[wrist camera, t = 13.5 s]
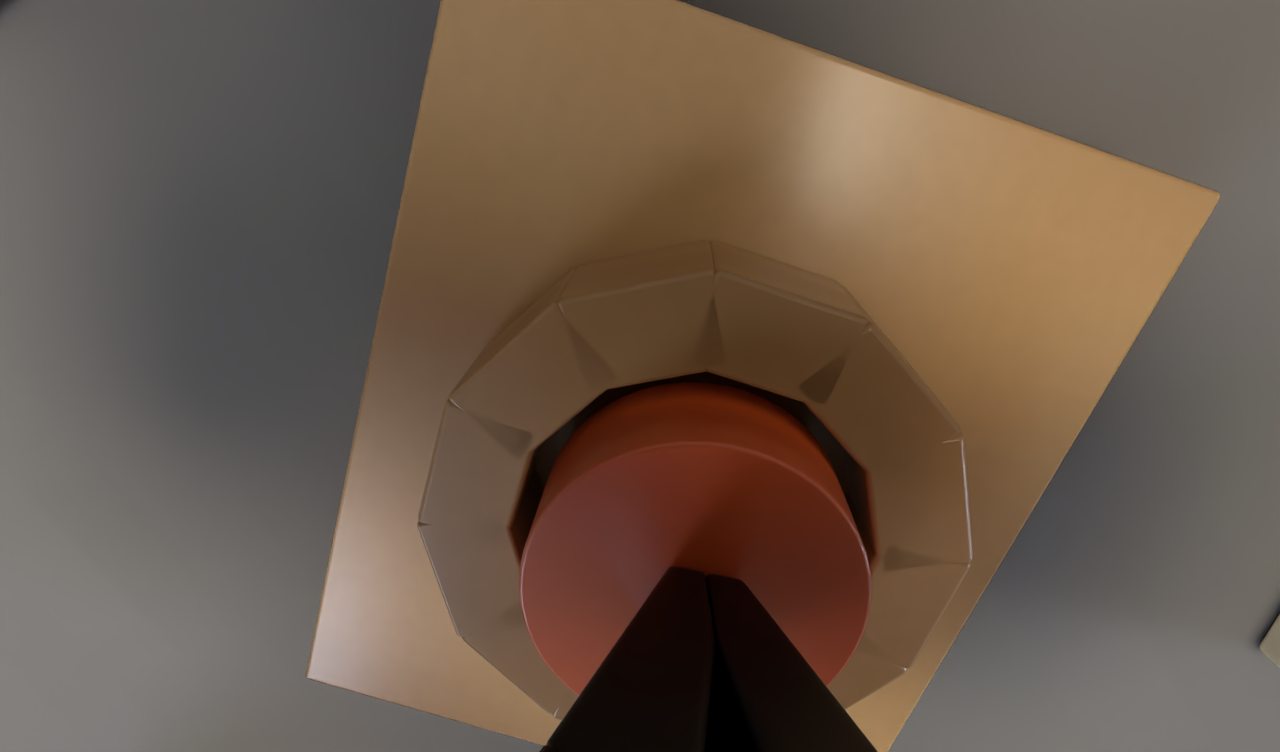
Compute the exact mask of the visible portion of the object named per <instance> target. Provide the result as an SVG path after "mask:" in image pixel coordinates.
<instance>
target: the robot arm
mask: <svg viewBox="0 0 1280 752" xmlns="http://www.w3.org/2000/svg"><path fill="white" fill-rule="evenodd" d="M540 752H878V751H877V750H876V749H875V747H874V746H873V745H872V744H871V742H870V741H869V740H868V738H867V737H866V736H865V735H864V733H863V732H862V731H861V730H860V728H859V727H858V726H857V725H856V723H855V722H854V721H853V719H852V718H851V717H850V716H849V714H848V713H847V712H846V711H845V709H844V708H843V707H842V705H841V704H840V703H839V702H838V700H837V699H836V698H835V697H834V695H833V694H832V693H831V692H830V690H829V689H828V688H827V686H826V685H825V684H824V683H823V681H822V680H821V679H820V678H819V676H818V675H817V674H816V672H815V671H814V670H813V669H812V667H811V666H810V665H809V664H808V662H807V661H806V660H805V659H804V657H803V656H802V655H801V653H800V652H799V651H798V650H797V648H796V647H795V646H794V645H793V643H792V642H791V641H790V640H789V638H788V637H787V636H786V634H785V633H784V632H783V631H782V629H781V628H780V627H779V626H778V624H777V623H776V622H775V620H774V619H773V618H772V617H771V615H770V614H769V613H768V612H767V610H766V609H765V608H764V607H763V605H762V604H761V603H760V601H759V600H758V599H757V598H756V596H755V595H754V594H753V593H752V591H751V590H750V589H749V587H748V586H747V585H746V584H745V583H744V582H743V581H742V580H740V579H737V578H732V577H727V576H722V575H716V574H709V575H707V576H706V577H705V575H704V574H703V573H702V572H700V571H696V570H691V569H686V568H681V567H676V566H671V567H669V568H668V569H667V570H666V572H665V573H664V575H663V576H662V578H661V579H660V580H659V582H658V583H657V585H656V586H655V588H654V589H653V590H652V592H651V593H650V595H649V596H648V598H647V599H646V600H645V602H644V603H643V605H642V606H641V608H640V609H639V611H638V612H637V613H636V615H635V616H634V618H633V619H632V621H631V622H630V623H629V625H628V626H627V628H626V629H625V631H624V632H623V633H622V635H621V636H620V638H619V639H618V641H617V642H616V643H615V645H614V646H613V648H612V649H611V651H610V652H609V654H608V655H607V656H606V658H605V659H604V661H603V662H602V664H601V665H600V666H599V668H598V669H597V671H596V672H595V674H594V675H593V676H592V678H591V679H590V681H589V682H588V684H587V685H586V686H585V688H584V689H583V691H582V692H581V694H580V695H579V697H578V698H577V699H576V701H575V702H574V704H573V705H572V707H571V708H570V709H569V711H568V712H567V714H566V715H565V717H564V718H563V719H562V721H561V722H560V724H559V725H558V727H557V728H556V730H555V731H554V732H553V734H552V735H551V737H550V738H549V740H548V741H547V744H546V745H545V746H544V747H542V749H541V750H540Z"/></svg>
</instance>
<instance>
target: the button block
mask: <svg viewBox="0 0 1280 752" xmlns="http://www.w3.org/2000/svg"><path fill="white" fill-rule="evenodd" d="M1219 199H1220V194H1219V193H1218V192H1217V191H1215V190H1212V189H1209V188H1206V187H1204V186H1201V185H1198V184H1195V183H1192V182H1189V181H1187V180H1184V179H1181V178H1178V177H1175V176H1173V175H1170V174H1167V173H1164V172H1161V171H1158V170H1156V169H1153V168H1150V167H1147V166H1144V165H1141V164H1139V163H1136V162H1133V161H1130V160H1127V159H1125V158H1122V157H1119V156H1116V155H1113V154H1110V153H1108V152H1105V151H1102V150H1099V149H1096V148H1093V147H1091V146H1088V145H1085V144H1082V143H1079V142H1077V141H1074V140H1071V139H1068V138H1065V137H1062V136H1060V135H1057V134H1054V133H1051V132H1048V131H1045V130H1043V129H1040V128H1037V127H1034V126H1031V125H1029V124H1026V123H1023V122H1020V121H1017V120H1014V119H1012V118H1009V117H1006V116H1003V115H1000V114H997V113H995V112H992V111H989V110H986V109H983V108H981V107H978V106H975V105H972V104H969V103H966V102H964V101H961V100H958V99H955V98H952V97H949V96H947V95H944V94H941V93H938V92H935V91H933V90H930V89H927V88H924V87H921V86H918V85H916V84H913V83H910V82H907V81H904V80H901V79H899V78H896V77H893V76H890V75H887V74H885V73H882V72H879V71H876V70H873V69H870V68H868V67H865V66H862V65H859V64H856V63H854V62H851V61H848V60H845V59H842V58H839V57H837V56H834V55H831V54H828V53H825V52H822V51H820V50H817V49H814V48H811V47H808V46H806V45H803V44H800V43H797V42H794V41H791V40H789V39H786V38H783V37H780V36H777V35H774V34H772V33H769V32H766V31H763V30H760V29H758V28H755V27H752V26H749V25H746V24H743V23H741V22H738V21H735V20H732V19H729V18H726V17H724V16H721V15H718V14H715V13H712V12H710V11H707V10H704V9H701V8H698V7H695V6H693V5H690V4H687V3H684V2H681V1H678V0H441V2H440V7H439V12H438V17H437V22H436V27H435V32H434V37H433V42H432V47H431V52H430V57H429V62H428V67H427V72H426V77H425V82H424V87H423V92H422V97H421V102H420V107H419V112H418V117H417V122H416V127H415V132H414V137H413V142H412V147H411V152H410V157H409V162H408V167H407V172H406V177H405V182H404V187H403V192H402V197H401V202H400V207H399V212H398V217H397V222H396V227H395V232H394V237H393V242H392V247H391V252H390V257H389V262H388V267H387V272H386V277H385V282H384V287H383V292H382V297H381V302H380V307H379V312H378V317H377V322H376V327H375V332H374V337H373V342H372V347H371V352H370V357H369V362H368V367H367V372H366V377H365V382H364V387H363V392H362V397H361V402H360V407H359V412H358V417H357V422H356V427H355V432H354V437H353V442H352V447H351V452H350V457H349V462H348V467H347V472H346V477H345V482H344V487H343V492H342V497H341V502H340V507H339V512H338V517H337V522H336V527H335V532H334V537H333V542H332V547H331V552H330V557H329V562H328V567H327V572H326V577H325V582H324V587H323V592H322V597H321V602H320V607H319V612H318V617H317V622H316V627H315V632H314V637H313V642H312V647H311V652H310V657H309V662H308V667H307V672H306V677H307V678H308V679H311V680H314V681H318V682H321V683H325V684H329V685H332V686H336V687H339V688H343V689H346V690H350V691H353V692H357V693H360V694H364V695H367V696H371V697H374V698H378V699H381V700H385V701H388V702H392V703H395V704H399V705H402V706H406V707H409V708H413V709H417V710H420V711H424V712H427V713H431V714H434V715H438V716H441V717H445V718H448V719H452V720H455V721H459V722H462V723H466V724H469V725H473V726H476V727H480V728H483V729H487V730H490V731H494V732H497V733H501V734H504V735H508V736H512V737H515V738H519V739H522V740H526V741H529V742H533V743H536V744H540V745H543V746H545V745H546V744H547V741H548V740H549V738H550V737H551V735H552V734H553V732H554V731H555V730H556V728H557V727H558V725H559V724H560V722H561V721H562V719H563V718H564V717H565V715H566V714H567V712H568V711H569V709H570V708H571V707H572V705H573V704H574V702H575V701H576V699H577V698H578V697H579V696H578V695H577V694H575V693H574V692H573V691H572V690H570V689H569V688H568V687H567V686H566V685H565V684H564V683H563V682H562V681H561V680H560V679H559V678H558V677H557V676H556V675H555V674H554V673H553V672H552V671H551V669H550V668H549V667H548V666H547V664H546V663H545V662H544V660H543V659H542V658H541V656H540V654H539V652H538V651H537V649H536V647H535V646H534V644H533V642H532V640H531V637H530V635H529V632H528V630H527V627H526V625H525V622H524V618H523V614H522V610H521V606H520V597H519V571H520V564H521V559H522V555H523V551H524V547H525V544H526V541H527V538H528V535H529V532H530V529H531V526H532V523H533V520H534V517H535V514H536V511H537V508H538V506H539V503H540V500H541V497H542V494H543V491H544V488H545V485H546V482H547V479H548V476H549V474H550V471H551V469H552V466H553V464H554V461H555V459H556V458H557V456H558V454H559V453H560V451H561V449H562V447H563V446H564V444H565V443H566V442H567V441H568V439H569V438H570V437H571V436H572V434H573V433H574V432H575V431H576V430H577V429H578V428H579V427H580V426H581V425H582V424H583V423H584V422H585V421H586V420H587V419H588V418H589V417H591V416H592V415H594V414H595V413H596V412H598V411H599V410H601V409H602V408H603V407H605V406H607V405H608V404H610V403H612V402H614V401H616V400H618V399H620V398H622V397H624V396H626V395H629V394H632V393H634V392H637V391H640V390H643V389H647V388H651V387H655V386H659V385H665V384H674V383H710V384H718V385H725V386H729V387H733V388H737V389H741V390H745V391H747V392H750V393H752V394H755V395H757V396H760V397H762V398H765V399H766V400H768V401H770V402H772V403H774V404H776V405H777V406H779V407H781V408H782V409H784V410H785V411H787V412H788V413H789V414H791V415H792V416H793V417H795V418H796V419H797V420H798V421H799V422H801V423H802V424H803V425H804V426H805V427H806V428H807V429H808V430H809V431H810V432H811V433H812V434H813V436H814V437H815V438H816V440H817V441H818V442H819V443H820V445H821V446H822V447H823V449H824V451H825V453H826V454H827V456H828V458H829V460H830V461H831V463H832V465H833V468H834V471H835V473H836V476H837V478H838V481H839V483H840V486H841V488H842V491H843V493H844V496H845V499H846V501H847V504H848V506H849V509H850V511H851V514H852V516H853V519H854V521H855V524H856V527H857V529H858V532H859V534H860V537H861V539H862V542H863V545H864V547H865V550H866V552H867V557H868V561H869V566H870V571H871V585H872V595H871V604H870V612H869V616H868V619H867V623H866V627H865V630H864V633H863V635H862V638H861V640H860V642H859V644H858V646H857V649H856V651H855V652H854V654H853V655H852V657H851V658H850V660H849V661H848V663H847V665H846V666H845V667H844V668H843V670H842V671H841V672H840V673H839V674H838V676H837V677H836V678H835V679H834V680H833V681H832V682H831V683H830V684H829V685H828V686H827V688H828V689H829V690H830V692H831V693H832V694H833V695H834V697H835V698H836V699H837V700H838V702H839V703H840V704H841V705H842V707H843V708H844V709H845V711H846V712H847V713H848V714H849V716H850V717H851V718H852V719H853V721H854V722H855V723H856V725H857V726H858V727H859V728H860V730H861V731H862V732H863V733H864V735H865V736H866V737H867V738H868V740H869V741H870V742H871V744H872V745H873V746H874V747H875V749H876V750H877V751H878V752H888V751H889V749H890V747H891V746H892V744H893V742H894V741H895V739H896V737H897V736H898V734H899V732H900V731H901V729H902V727H903V726H904V724H905V722H906V721H907V719H908V717H909V716H910V714H911V712H912V711H913V709H914V707H915V706H916V704H917V702H918V701H919V699H920V697H921V696H922V694H923V692H924V691H925V689H926V687H927V686H928V684H929V682H930V681H931V679H932V677H933V676H934V674H935V672H936V671H937V669H938V667H939V666H940V664H941V662H942V661H943V659H944V657H945V656H946V654H947V652H948V651H949V649H950V647H951V646H952V644H953V642H954V641H955V639H956V637H957V636H958V634H959V632H960V631H961V629H962V627H963V626H964V624H965V622H966V621H967V619H968V617H969V616H970V614H971V612H972V611H973V609H974V607H975V606H976V604H977V602H978V601H979V599H980V597H981V596H982V594H983V592H984V591H985V589H986V587H987V586H988V584H989V582H990V581H991V579H992V577H993V576H994V574H995V572H996V571H997V569H998V567H999V566H1000V564H1001V562H1002V561H1003V559H1004V557H1005V556H1006V554H1007V552H1008V551H1009V549H1010V547H1011V546H1012V544H1013V542H1014V541H1015V539H1016V537H1017V536H1018V534H1019V532H1020V531H1021V529H1022V527H1023V526H1024V524H1025V522H1026V521H1027V519H1028V517H1029V516H1030V514H1031V512H1032V511H1033V509H1034V507H1035V506H1036V504H1037V502H1038V501H1039V499H1040V497H1041V496H1042V494H1043V492H1044V491H1045V489H1046V487H1047V486H1048V484H1049V482H1050V481H1051V479H1052V477H1053V476H1054V474H1055V472H1056V471H1057V469H1058V467H1059V466H1060V464H1061V462H1062V461H1063V459H1064V457H1065V456H1066V454H1067V452H1068V451H1069V449H1070V447H1071V446H1072V444H1073V442H1074V441H1075V439H1076V437H1077V436H1078V434H1079V432H1080V431H1081V429H1082V427H1083V426H1084V424H1085V422H1086V421H1087V419H1088V417H1089V416H1090V414H1091V412H1092V411H1093V409H1094V407H1095V406H1096V404H1097V402H1098V401H1099V399H1100V397H1101V396H1102V394H1103V393H1104V391H1105V389H1106V388H1107V386H1108V384H1109V383H1110V381H1111V379H1112V378H1113V376H1114V374H1115V373H1116V371H1117V369H1118V368H1119V366H1120V364H1121V363H1122V361H1123V359H1124V358H1125V356H1126V354H1127V353H1128V351H1129V349H1130V348H1131V346H1132V344H1133V343H1134V341H1135V339H1136V338H1137V336H1138V334H1139V333H1140V331H1141V329H1142V328H1143V326H1144V324H1145V323H1146V321H1147V319H1148V318H1149V316H1150V314H1151V313H1152V311H1153V309H1154V308H1155V306H1156V304H1157V303H1158V301H1159V299H1160V298H1161V296H1162V294H1163V293H1164V291H1165V289H1166V288H1167V286H1168V284H1169V283H1170V281H1171V279H1172V278H1173V276H1174V274H1175V273H1176V271H1177V269H1178V268H1179V266H1180V264H1181V263H1182V261H1183V259H1184V258H1185V256H1186V254H1187V253H1188V251H1189V249H1190V248H1191V246H1192V244H1193V243H1194V241H1195V239H1196V238H1197V236H1198V234H1199V233H1200V231H1201V229H1202V228H1203V226H1204V224H1205V223H1206V221H1207V219H1208V218H1209V216H1210V214H1211V213H1212V211H1213V209H1214V208H1215V206H1216V204H1217V203H1218V201H1219Z"/></svg>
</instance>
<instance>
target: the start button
mask: <svg viewBox="0 0 1280 752" xmlns="http://www.w3.org/2000/svg"><path fill="white" fill-rule="evenodd" d="M671 566H676V567H681V568H686V569H691V570H696V571H700V572H702V573H703V574H704V575H705V577H706V576H707V575H709V574H716V575H722V576H727V577H732V578H737V579H740V580H742V581H743V582H744V583H745V584H746V585H747V586H748V587H749V589H750V590H751V591H752V593H753V594H754V595H755V596H756V598H757V599H758V600H759V601H760V603H761V604H762V605H763V607H764V608H765V609H766V610H767V612H768V613H769V614H770V615H771V617H772V618H773V619H774V620H775V622H776V623H777V624H778V626H779V627H780V628H781V629H782V631H783V632H784V633H785V634H786V636H787V637H788V638H789V640H790V641H791V642H792V643H793V645H794V646H795V647H796V648H797V650H798V651H799V652H800V653H801V655H802V656H803V657H804V659H805V660H806V661H807V662H808V664H809V665H810V666H811V667H812V669H813V670H814V671H815V672H816V674H817V675H818V676H819V678H820V679H821V680H822V681H823V683H824V684H825V685H826V686H828V685H829V684H830V683H831V682H832V681H833V680H834V679H835V678H836V677H837V676H838V674H839V673H840V672H841V671H842V670H843V668H844V667H845V666H846V665H847V663H848V661H849V660H850V658H851V657H852V655H853V654H854V652H855V651H856V649H857V646H858V644H859V642H860V640H861V638H862V635H863V633H864V630H865V627H866V623H867V619H868V616H869V612H870V604H871V595H872V585H871V571H870V566H869V561H868V557H867V552H866V550H865V547H864V545H863V542H862V539H861V537H860V534H859V532H858V529H857V527H856V524H855V521H854V519H853V516H852V514H851V511H850V509H849V506H848V504H847V501H846V499H845V496H844V493H843V491H842V488H841V486H840V483H839V481H838V478H837V476H836V473H835V471H834V468H833V465H832V463H831V461H830V460H829V458H828V456H827V454H826V453H825V451H824V449H823V447H822V446H821V445H820V443H819V442H818V441H817V440H816V438H815V437H814V436H813V434H812V433H811V432H810V431H809V430H808V429H807V428H806V427H805V426H804V425H803V424H802V423H801V422H799V421H798V420H797V419H796V418H795V417H793V416H792V415H791V414H789V413H788V412H787V411H785V410H784V409H782V408H781V407H779V406H777V405H776V404H774V403H772V402H770V401H768V400H766V399H765V398H762V397H760V396H757V395H755V394H752V393H750V392H747V391H745V390H741V389H737V388H733V387H729V386H725V385H718V384H710V383H674V384H665V385H659V386H655V387H651V388H647V389H643V390H640V391H637V392H634V393H632V394H629V395H626V396H624V397H622V398H620V399H618V400H616V401H614V402H612V403H610V404H608V405H607V406H605V407H603V408H602V409H601V410H599V411H598V412H596V413H595V414H594V415H592V416H591V417H589V418H588V419H587V420H586V421H585V422H584V423H583V424H582V425H581V426H580V427H579V428H578V429H577V430H576V431H575V432H574V433H573V434H572V436H571V437H570V438H569V439H568V441H567V442H566V443H565V444H564V446H563V447H562V449H561V451H560V453H559V454H558V456H557V458H556V459H555V461H554V464H553V466H552V469H551V471H550V474H549V476H548V479H547V482H546V485H545V488H544V491H543V494H542V497H541V500H540V503H539V506H538V508H537V511H536V514H535V517H534V520H533V523H532V526H531V529H530V532H529V535H528V538H527V541H526V544H525V547H524V551H523V555H522V559H521V564H520V571H519V597H520V606H521V610H522V614H523V618H524V622H525V625H526V627H527V630H528V632H529V635H530V637H531V640H532V642H533V644H534V646H535V647H536V649H537V651H538V652H539V654H540V656H541V658H542V659H543V660H544V662H545V663H546V664H547V666H548V667H549V668H550V669H551V671H552V672H553V673H554V674H555V675H556V676H557V677H558V678H559V679H560V680H561V681H562V682H563V683H564V684H565V685H566V686H567V687H568V688H569V689H570V690H572V691H573V692H574V693H575V694H577V695H578V696H579V695H580V694H581V692H582V691H583V689H584V688H585V686H586V685H587V684H588V682H589V681H590V679H591V678H592V676H593V675H594V674H595V672H596V671H597V669H598V668H599V666H600V665H601V664H602V662H603V661H604V659H605V658H606V656H607V655H608V654H609V652H610V651H611V649H612V648H613V646H614V645H615V643H616V642H617V641H618V639H619V638H620V636H621V635H622V633H623V632H624V631H625V629H626V628H627V626H628V625H629V623H630V622H631V621H632V619H633V618H634V616H635V615H636V613H637V612H638V611H639V609H640V608H641V606H642V605H643V603H644V602H645V600H646V599H647V598H648V596H649V595H650V593H651V592H652V590H653V589H654V588H655V586H656V585H657V583H658V582H659V580H660V579H661V578H662V576H663V575H664V573H665V572H666V570H667V569H668V568H669V567H671Z"/></svg>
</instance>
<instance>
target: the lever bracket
mask: <svg viewBox="0 0 1280 752" xmlns="http://www.w3.org/2000/svg"><path fill="white" fill-rule="evenodd" d="M1260 650H1261V651H1262V652H1263V653H1264V654H1265V655H1266V656H1267V657H1268V658H1269V659H1270V660H1271V661H1272V662H1273V663H1274V664H1275V665H1277V666H1278V667H1279V668H1280V614H1279V615H1278V617H1277V619H1276V620H1275V622H1274V623H1273V625H1272V627H1271V628H1270V630H1269V631H1268V633H1267V635H1266V636H1265V638H1264V639H1263V641H1262V642H1261V644H1260Z"/></svg>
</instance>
